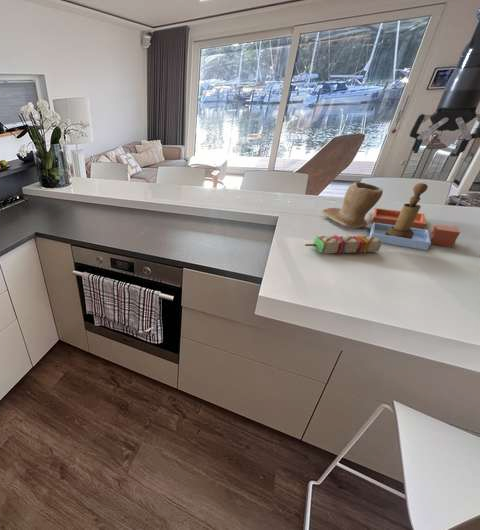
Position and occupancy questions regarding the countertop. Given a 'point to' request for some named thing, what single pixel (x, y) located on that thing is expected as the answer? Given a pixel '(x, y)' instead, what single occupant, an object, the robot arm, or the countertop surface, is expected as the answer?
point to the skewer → (346, 244)
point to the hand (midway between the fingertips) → (435, 153)
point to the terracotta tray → (392, 216)
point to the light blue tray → (418, 240)
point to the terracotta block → (444, 235)
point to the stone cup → (355, 205)
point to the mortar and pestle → (408, 215)
